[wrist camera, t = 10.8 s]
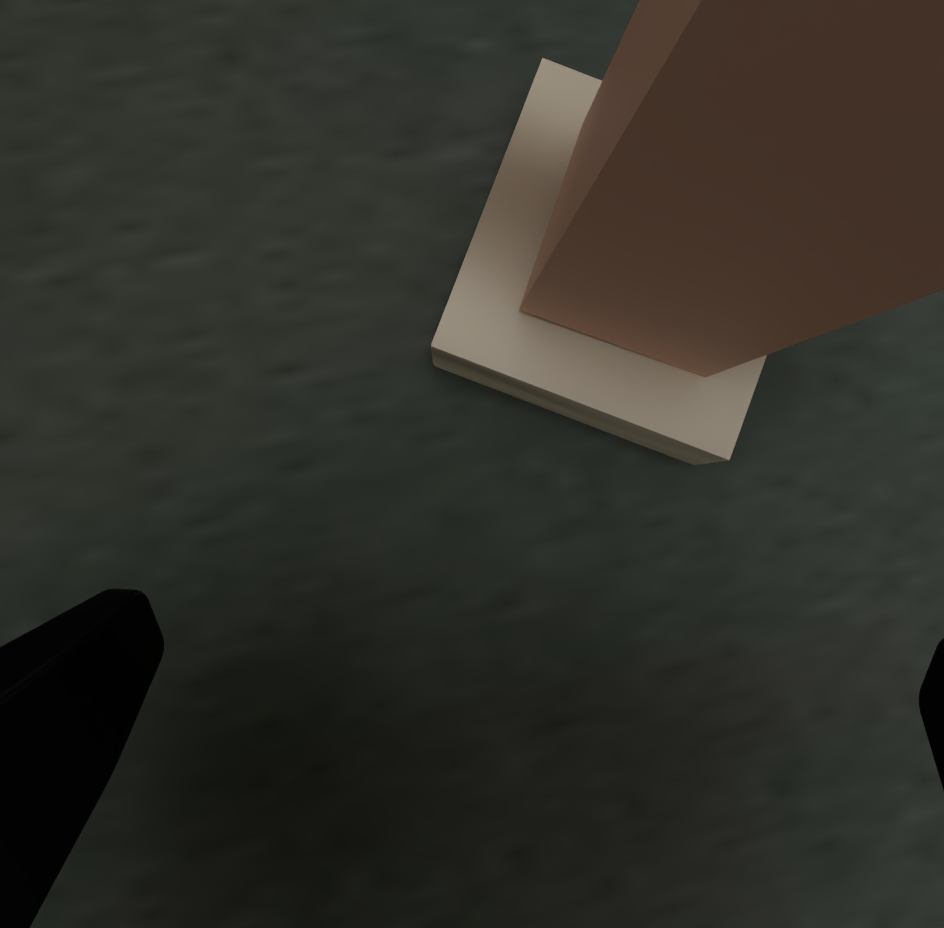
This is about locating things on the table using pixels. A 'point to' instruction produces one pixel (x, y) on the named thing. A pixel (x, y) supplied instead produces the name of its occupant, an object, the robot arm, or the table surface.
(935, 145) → the column
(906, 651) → the table surface
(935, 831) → the table surface
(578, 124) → the slab
